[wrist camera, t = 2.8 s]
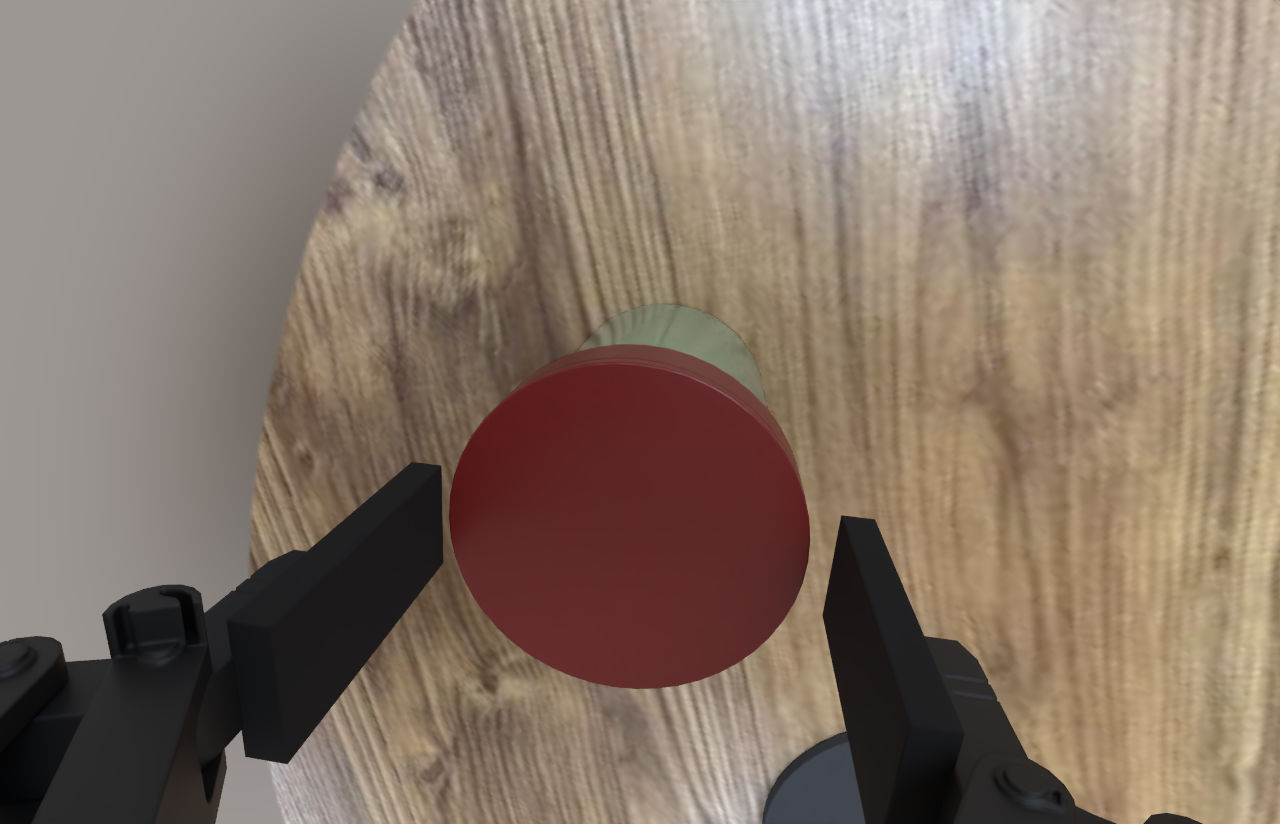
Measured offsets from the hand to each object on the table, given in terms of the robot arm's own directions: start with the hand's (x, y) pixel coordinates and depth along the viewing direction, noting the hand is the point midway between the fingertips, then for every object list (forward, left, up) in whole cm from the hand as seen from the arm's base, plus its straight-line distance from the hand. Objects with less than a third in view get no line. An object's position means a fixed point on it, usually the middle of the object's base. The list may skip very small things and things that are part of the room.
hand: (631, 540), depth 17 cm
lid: (0, 0, 0) cm, 0 cm away
